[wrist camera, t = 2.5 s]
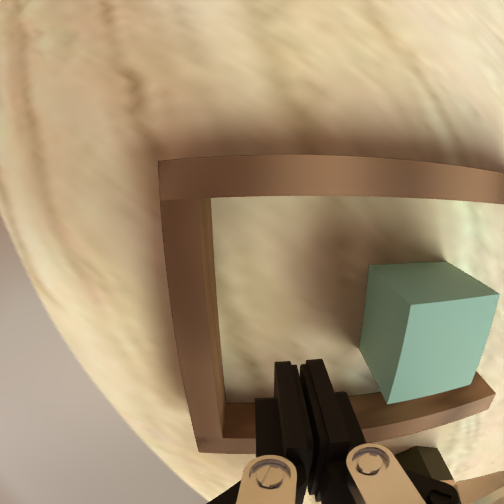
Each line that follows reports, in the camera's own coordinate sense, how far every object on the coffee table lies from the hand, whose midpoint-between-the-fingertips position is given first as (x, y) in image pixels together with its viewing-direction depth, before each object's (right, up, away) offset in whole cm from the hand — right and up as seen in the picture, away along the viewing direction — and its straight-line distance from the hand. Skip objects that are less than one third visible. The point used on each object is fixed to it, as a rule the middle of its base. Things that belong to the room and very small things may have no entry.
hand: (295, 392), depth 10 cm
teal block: (+7, +2, +5) cm, 9 cm away
